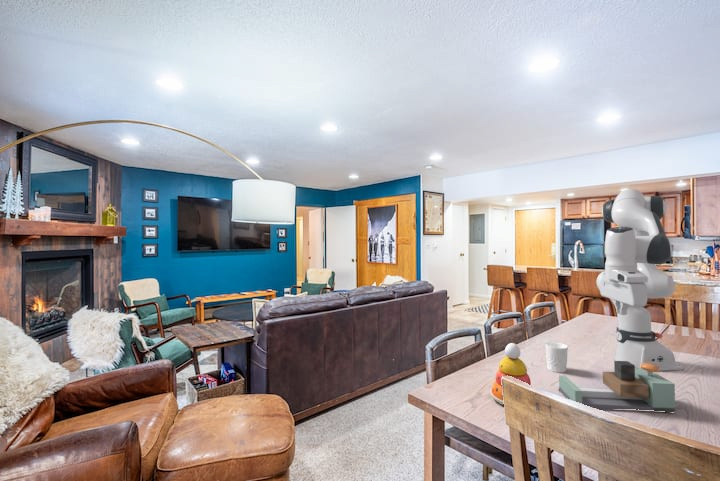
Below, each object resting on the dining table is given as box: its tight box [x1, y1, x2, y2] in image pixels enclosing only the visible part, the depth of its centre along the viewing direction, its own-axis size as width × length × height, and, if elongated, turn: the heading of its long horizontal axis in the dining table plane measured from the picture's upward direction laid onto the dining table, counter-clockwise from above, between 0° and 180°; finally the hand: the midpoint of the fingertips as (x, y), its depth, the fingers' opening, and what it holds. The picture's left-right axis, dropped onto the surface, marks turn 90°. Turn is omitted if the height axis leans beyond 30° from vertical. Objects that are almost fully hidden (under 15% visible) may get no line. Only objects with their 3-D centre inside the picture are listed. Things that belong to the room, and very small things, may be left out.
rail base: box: [558, 367, 676, 414], centre depth 111 cm, size 28×12×9 cm, turn 81°
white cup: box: [544, 341, 569, 374], centre depth 137 cm, size 8×8×10 cm
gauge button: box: [641, 363, 660, 376], centre depth 109 cm, size 4×4×3 cm
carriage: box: [602, 360, 649, 398], centre depth 110 cm, size 8×10×9 cm
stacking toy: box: [489, 342, 532, 406], centre depth 113 cm, size 14×14×20 cm
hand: (621, 314), depth 116 cm, fingers closed
